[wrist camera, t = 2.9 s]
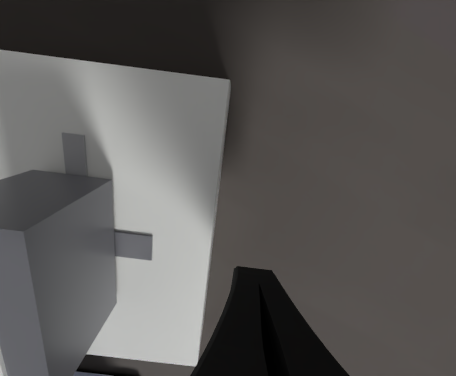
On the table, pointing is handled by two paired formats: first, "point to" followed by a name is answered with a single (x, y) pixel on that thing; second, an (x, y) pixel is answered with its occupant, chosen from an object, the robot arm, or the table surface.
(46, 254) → the fader tab
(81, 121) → the white flat rectangular block
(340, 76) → the table surface
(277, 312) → the robot arm
